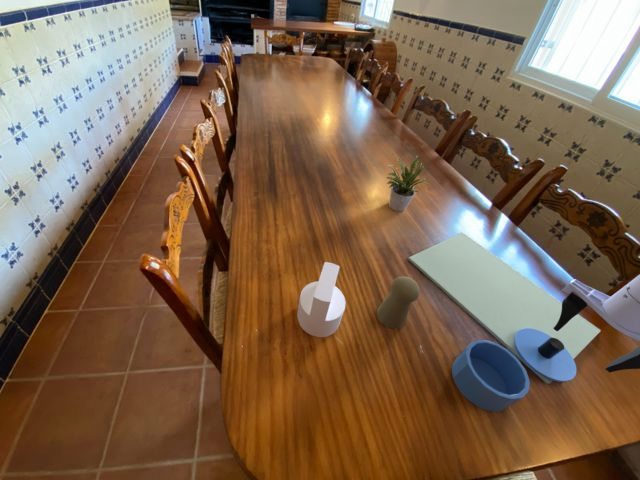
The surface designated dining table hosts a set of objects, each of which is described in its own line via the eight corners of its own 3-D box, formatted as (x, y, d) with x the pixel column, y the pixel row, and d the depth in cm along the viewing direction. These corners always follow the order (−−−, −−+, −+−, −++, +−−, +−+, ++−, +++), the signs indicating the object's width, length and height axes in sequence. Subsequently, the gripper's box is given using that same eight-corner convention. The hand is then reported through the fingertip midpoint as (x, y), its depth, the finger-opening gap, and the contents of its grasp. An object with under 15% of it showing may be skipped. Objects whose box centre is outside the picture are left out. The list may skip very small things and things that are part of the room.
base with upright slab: (335, 343, 57) (347, 308, 50) (291, 328, 59) (296, 292, 52) (343, 305, 64) (355, 270, 56) (304, 293, 66) (310, 256, 58)
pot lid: (582, 366, 57) (600, 355, 54) (556, 394, 52) (575, 383, 49) (528, 323, 63) (541, 310, 60) (501, 344, 59) (514, 332, 56)
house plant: (378, 186, 102) (392, 142, 91) (419, 198, 98) (439, 153, 88) (370, 209, 91) (384, 162, 81) (416, 223, 88) (437, 176, 77)
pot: (520, 393, 53) (540, 379, 49) (488, 423, 49) (508, 411, 45) (472, 346, 59) (487, 331, 55) (440, 370, 55) (454, 355, 51)
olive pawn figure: (409, 329, 61) (429, 298, 54) (380, 328, 61) (396, 296, 54) (401, 304, 65) (418, 272, 58) (374, 302, 65) (388, 270, 58)
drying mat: (598, 332, 64) (601, 330, 63) (547, 384, 54) (550, 382, 54) (460, 234, 85) (462, 232, 85) (407, 259, 76) (408, 257, 76)
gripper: (737, 330, 38) (646, 375, 46) (603, 254, 47) (548, 303, 56) (722, 356, 35) (629, 399, 43) (582, 269, 44) (528, 319, 53)
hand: (582, 346), depth 49 cm, fingers open, 7 cm apart
